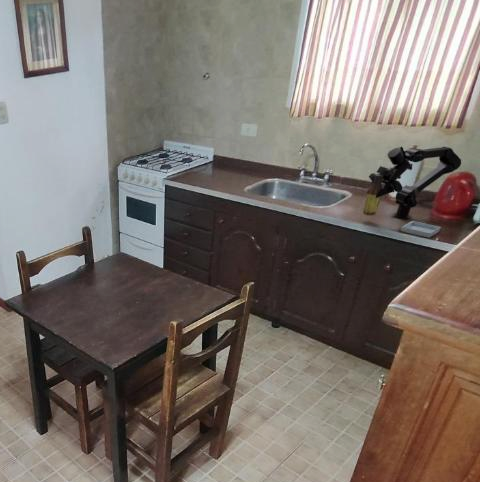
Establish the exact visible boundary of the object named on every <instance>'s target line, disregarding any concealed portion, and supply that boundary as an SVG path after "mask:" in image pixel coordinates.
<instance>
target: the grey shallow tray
mask: <svg viewBox="0 0 480 482" xmlns="http://www.w3.org/2000/svg"><path fill="white" fill-rule="evenodd" d="M441 228H442V227H441V226H438V225H433V224H430V223H429V224H428V223H424V222H420V221H415V220H411V221H409V222H408V223H406V224H404V225H403V226H401V228H400V232H402V233H407V234H412V235H416V236H419V237H425V238H427V239H428V238H429V239H430V238H431V237H433V236H434V235H436V234H437V233H439V232H440V231H441Z"/></svg>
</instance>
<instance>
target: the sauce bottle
mask: <svg viewBox="0 0 480 482" xmlns="http://www.w3.org/2000/svg"><path fill="white" fill-rule="evenodd" d="M383 177H384V175H383V174H380V173H375V176H374V182H373V184H372V183H371V184H372V185H371V184H370V186H371V187H370V186H369V187H368V190H369V191H368V190H367V192H368V194H367V193H366V194H367V195H366V200H365V202H364V206H363V212H362V214H363V215H365V216H376V214H377V212H378V209H379V205H380V201H381V197H382V196H381V197H378V198H376V195H377V194H378V193H379V192H380V191H381V190H382V189H383V183H382V179H383Z"/></svg>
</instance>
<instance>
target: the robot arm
mask: <svg viewBox="0 0 480 482" xmlns="http://www.w3.org/2000/svg"><path fill="white" fill-rule="evenodd" d="M387 157H388V159H389V161H390V163H391V164H392V165H393V166H392V167H391V166H390V167H388V168H387V167H385V166H382V165H380V166H379V167H378V168H377V170H376V172H372V173H370V174H369V175H368V178H369V179H370V181H371V184H370V186H369V188H370V187H371V185H372V184H373V182H374V176H375V174H383V175H384V177H383V179H382V185H384V186H383V187H382V190H381V191H380V192H379V193H378V194H377V195H376V198H378V197H384V196H386V195H389V194H391V193H395V192H396V194H395V204H397V205H398V207H397V208H396V212H395V214H394V216H393V217H394V218H397V219H406V220H408V219H409V217H410V212H411V210H412V209H411V208H415V207H416V206H417V205H418V201H417V198H418V195H419V193H421V192H422V191H423V190H425V189H426V188H427V187H429V186H430V185H432V184H433V183H434V182H435V181H437V180H438V179H440V177H441V178H442V176H444V175H447V174H450V173H453V172H455V171H457V170H458V169H459V168H460V167H461V165H462V159H461V158H460V157H459V155H458V154H456V152H454V150H453V148H451V147H448V146H441V147H432V148H424V149H422V148H415V147H409V148H408V149H407V150H404V147H403V146H401V145H399V146H397V147H395V148H392V149H391V150H389V151H388V152H387ZM432 158H434V159H435V158H438V160H439V162H438V163H437V166H436V167H435V168H434V169H433V170H431V171H430V172H429V173H427V174H426V175H425V176H423V177H421V178H420V179H419V180H418V181H416V182H414V184H412V185H407V184H406V185H404V186H403V184H402V183H401V182H400V180H401V179H402V175H403V174H404V173H405V172H406V171H407V170H409V171H412V170H413V164H414V163H420V162H423V161H424V160H425V159H432ZM411 162H412V163H411ZM368 191H369V189H368V190H367V191H366V194H368Z"/></svg>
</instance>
